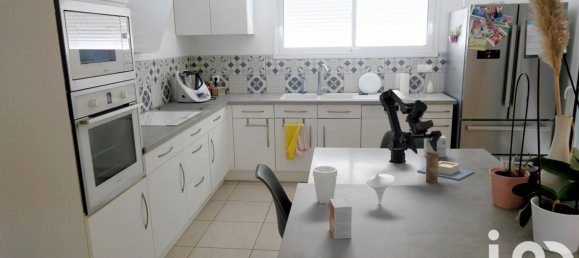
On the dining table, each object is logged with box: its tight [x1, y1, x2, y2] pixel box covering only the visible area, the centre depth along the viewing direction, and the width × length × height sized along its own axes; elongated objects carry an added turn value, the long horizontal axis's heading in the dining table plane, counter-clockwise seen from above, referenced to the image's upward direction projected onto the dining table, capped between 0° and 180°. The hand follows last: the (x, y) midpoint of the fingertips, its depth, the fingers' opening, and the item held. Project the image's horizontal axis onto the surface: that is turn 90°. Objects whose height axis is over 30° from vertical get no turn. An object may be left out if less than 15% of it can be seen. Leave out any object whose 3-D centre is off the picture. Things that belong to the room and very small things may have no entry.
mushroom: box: [365, 173, 396, 204], centre depth 160 cm, size 10×11×12 cm
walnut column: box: [425, 151, 440, 184], centre depth 185 cm, size 5×5×13 cm
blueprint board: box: [417, 160, 475, 181], centre depth 199 cm, size 20×16×4 cm
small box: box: [329, 197, 353, 240], centre depth 135 cm, size 8×6×10 cm
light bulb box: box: [423, 134, 447, 158], centre depth 229 cm, size 11×7×11 cm, turn 84°
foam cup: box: [312, 165, 338, 203], centre depth 164 cm, size 10×9×13 cm
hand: (426, 152), depth 189 cm, fingers open, 9 cm apart
